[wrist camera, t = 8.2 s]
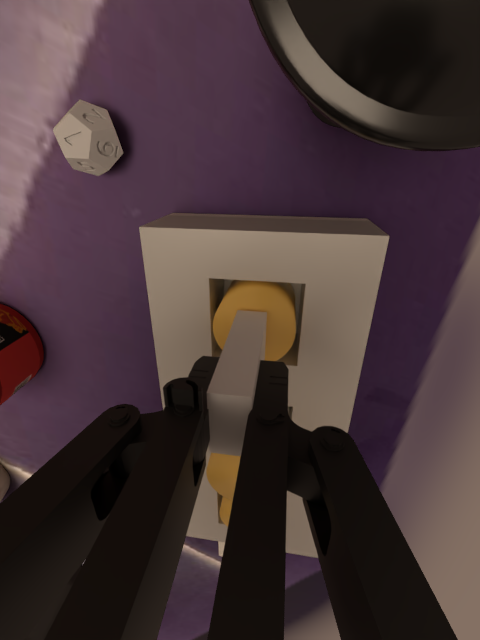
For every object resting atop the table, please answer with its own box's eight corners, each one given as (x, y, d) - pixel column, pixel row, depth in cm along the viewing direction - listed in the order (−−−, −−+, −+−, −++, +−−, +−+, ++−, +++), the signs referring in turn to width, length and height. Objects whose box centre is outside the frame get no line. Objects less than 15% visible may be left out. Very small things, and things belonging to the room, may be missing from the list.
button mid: (283, 453, 22) (281, 509, 19) (221, 445, 23) (207, 498, 19) (287, 404, 20) (286, 456, 17) (219, 397, 21) (204, 445, 17)
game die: (142, 163, 20) (117, 163, 17) (91, 181, 20) (61, 184, 18) (117, 97, 18) (87, 85, 16) (64, 119, 19) (27, 112, 16)
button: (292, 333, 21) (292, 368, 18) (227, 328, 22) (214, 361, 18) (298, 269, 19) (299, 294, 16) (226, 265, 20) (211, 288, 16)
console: (317, 500, 30) (321, 558, 26) (195, 483, 32) (179, 534, 28) (367, 218, 19) (389, 236, 14) (172, 212, 20) (139, 227, 16)
